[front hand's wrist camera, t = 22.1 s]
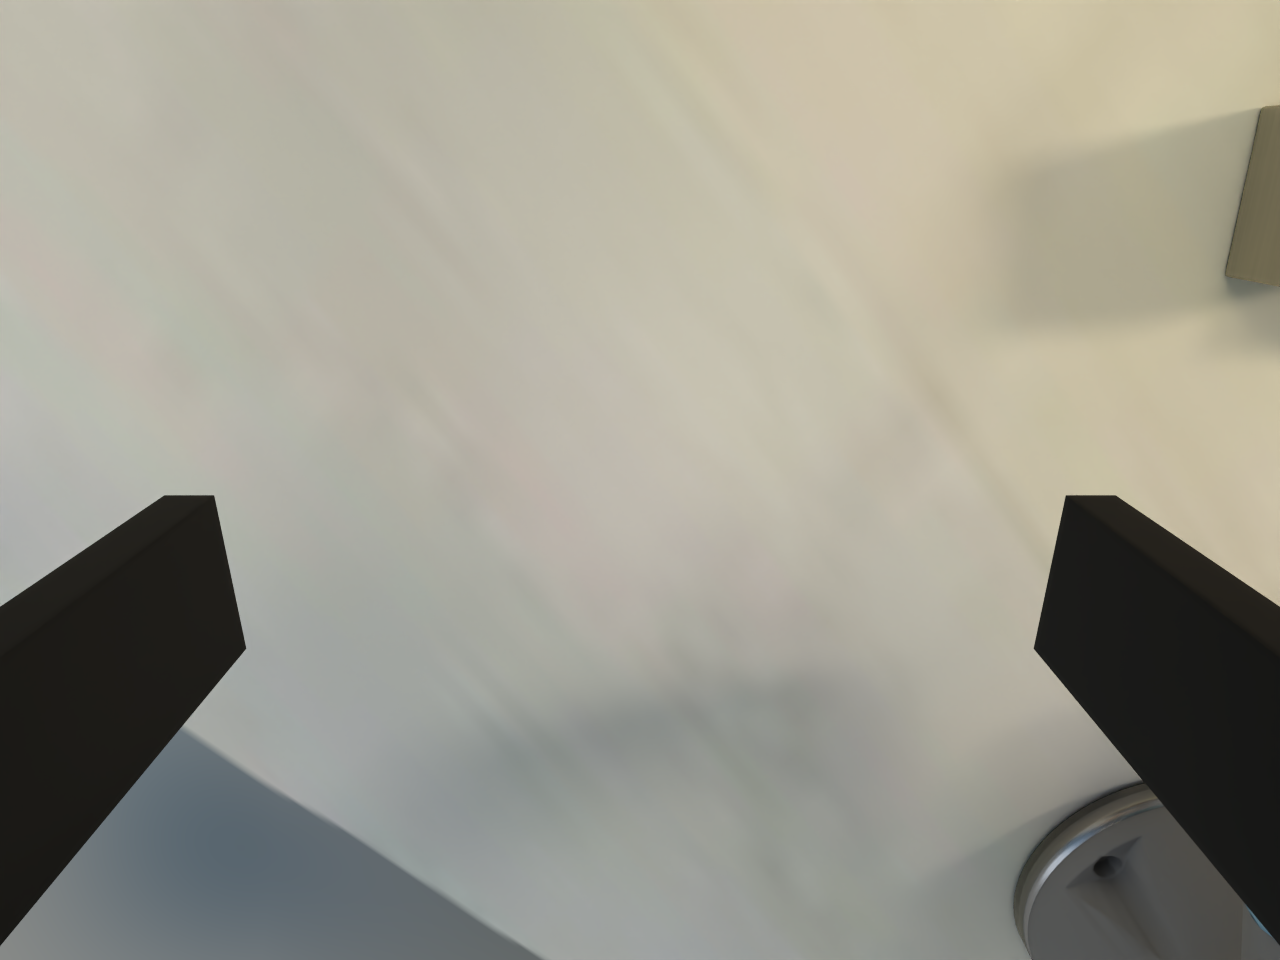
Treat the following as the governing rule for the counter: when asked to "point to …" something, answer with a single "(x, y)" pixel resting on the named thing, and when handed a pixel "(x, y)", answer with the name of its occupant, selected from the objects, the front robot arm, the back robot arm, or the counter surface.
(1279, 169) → the metal block
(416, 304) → the counter surface
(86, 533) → the counter surface
